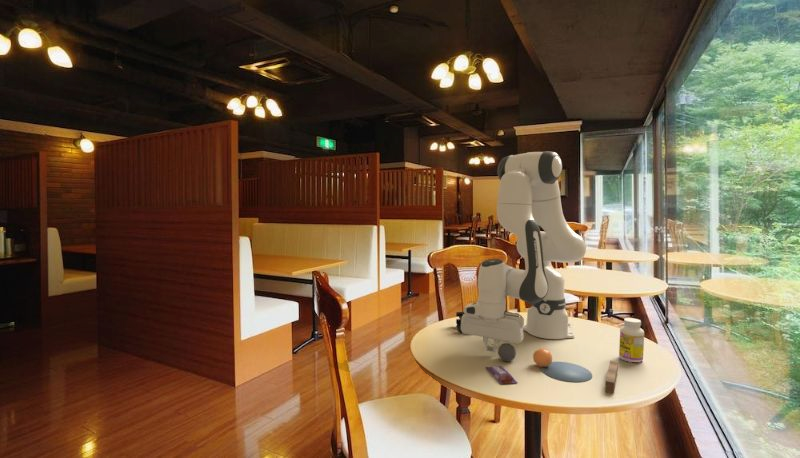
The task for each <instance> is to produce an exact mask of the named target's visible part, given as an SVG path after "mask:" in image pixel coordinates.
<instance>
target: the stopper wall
mask: <svg viewBox="0 0 800 458" xmlns="http://www.w3.org/2000/svg"><path fill="white" fill-rule="evenodd" d="M618 370H619V362H618V361H617V360H616V361H615V360H609V365H608V370H607V374H606V378H605V385H604V386H605V389H604V392H605V393H608V392H609V394H612V393H614V394H615V389H616V384H617V377H618V373H617V372H618Z"/></svg>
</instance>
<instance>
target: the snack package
mask: <svg viewBox="0 0 800 458" xmlns="http://www.w3.org/2000/svg"><path fill="white" fill-rule="evenodd" d="M485 368H486V370H487V371H489V372H490V374H491V375H492V376H493V377H494V378H495V379H496V380H497V381H498V382H499V384H500V385H508V384H509V385H510V384H518V382H517V381H516V379H515V378H514V377H513V376H512V374H510V373H509V371H508V370H506V368H504V367H503V366H501V365H497V366H485Z"/></svg>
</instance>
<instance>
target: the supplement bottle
mask: <svg viewBox="0 0 800 458" xmlns="http://www.w3.org/2000/svg"><path fill="white" fill-rule="evenodd" d="M623 319H624V320H623V323H624V325H622V326H621V327H620V328H619V346H618V347H619V348H618V349H619V351H618V356H619V358H620V359H621V360H623V361H626V362H627V361H628V363H632V362H639V363H641V361H642V362H644V361H643V360H644V351H645V350H644V346H645V331H644V329H642V328H641V326H642V321H641V319H638V318H632V317H626V318H623Z"/></svg>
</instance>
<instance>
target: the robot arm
mask: <svg viewBox="0 0 800 458" xmlns="http://www.w3.org/2000/svg"><path fill="white" fill-rule="evenodd" d="M562 173H563V161H562V159H561V156H560V155H559V154H558V153H557V152H555V151H548V150H546V151H531V152H529V151H528V152H526V153H525V152H524V153H518V154H514V155H513V154H511V155H507V156H505V157H503V158H502V159H501V160H500V161H499V163H498V166H497V176H498V179H499V180H500V182H499V186H498V191H497V199H496V200H497V201H496V202H497V203H496V217H497V220H498V221H497V222H498V223H499V224H500V226H501V227H503V229H504V230H506V231H507V232H509V233H511V234H513V235H514V236H516V238H517V240H516V250H517V253H518V254H519V255H520V256H521V258H523V259H524V264H525V269H519V268H516V267H513V266H510V265H508V264H507V263H505V261H504V260H503V259H500V258H492V259H491V258H490V259H486V260H483V261H482V262H481V264H480V265H479V267H478V268H479V270H478V274H477V275H478V276H477V289H478V296H477V302H472V303H469V304H466V305H465V306H463V310H462V312H464V313H465V314H463V316H462V319H461V331H462V333H464V335H470V336H476V337H480V338H482V342H483V344H484V346H485V351H486V352H491V353H496V352H497V346H498V344H499V342H501V341H502V342H507V343H513V344H518V345H519V344H520V343H522V341H523V340H524V337H525V336H524V332H527V333H528V334H529V335H532V336H533V337H537V338H541V339H546V340H562V339H574V338H575V332H574V328H573V324H571V323H570V322H569V314H568V312H567V310H566V298H565V279H564V276H563V274H561V273H560V272H559V271H557V270H556V269H555V268H554V266H553V264H552V262H553V263H554V262H555V263H561V264H562V263H566V264H567V263H578V262H580V261H581V260H582V259H583V258H584V257H585V255H586V252H587V244H586V242H585V240H584V239H583V237H582V236H581V235H579V234H578V233H576V232H575V231H574V230H573V229H572V228H571V227H570V225H569V224H568V222H567V220H566V219H565V218H566V217H565V216H564V213H563V207H562V201H561V200H562V199H561V191H560V185H559V181H558V180H559V179H560V177H561V175H562ZM540 228H542V229H543V231H541V230H540ZM506 297H509V298H514V299H517V300H521V301H522V302H526V303H528V304H531V307H530V308H529V309H527V313H526V315H527V318H526V324H525V319H524V316H522V314H520V313H518V312H511V311H507V307H506V305H507V303H506V300H507V299H506ZM489 339H492V340H493V343H494V344H490V342H489Z"/></svg>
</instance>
